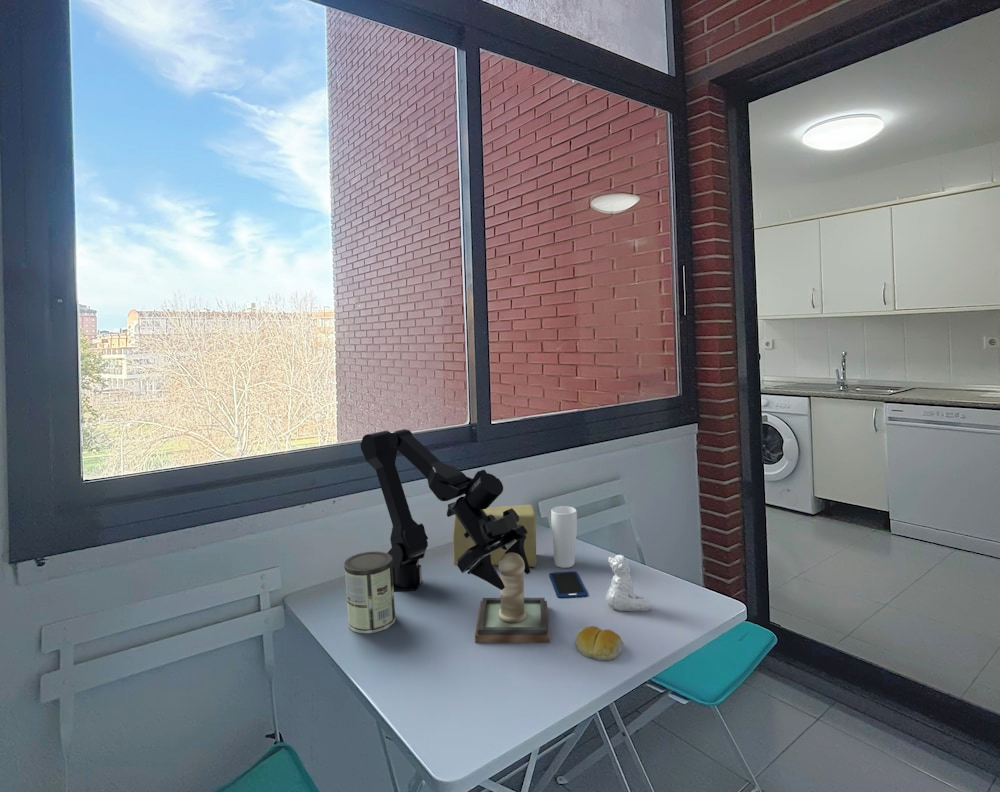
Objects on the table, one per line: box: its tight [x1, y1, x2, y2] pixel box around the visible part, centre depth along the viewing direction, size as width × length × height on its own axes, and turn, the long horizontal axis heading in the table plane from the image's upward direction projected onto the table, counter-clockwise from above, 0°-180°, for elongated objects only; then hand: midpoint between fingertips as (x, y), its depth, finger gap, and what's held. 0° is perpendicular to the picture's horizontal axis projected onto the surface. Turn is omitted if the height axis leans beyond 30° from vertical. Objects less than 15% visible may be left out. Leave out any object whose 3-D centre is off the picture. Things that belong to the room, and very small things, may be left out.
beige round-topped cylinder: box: [498, 552, 527, 623], centre depth 127 cm, size 6×6×14 cm
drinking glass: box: [550, 505, 578, 569], centre depth 157 cm, size 7×7×15 cm
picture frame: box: [474, 597, 550, 644], centre depth 127 cm, size 15×15×2 cm
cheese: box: [452, 504, 537, 568], centre depth 159 cm, size 22×10×15 cm, turn 92°
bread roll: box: [575, 625, 624, 661], centre depth 117 cm, size 8×9×4 cm
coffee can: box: [343, 551, 396, 634], centre depth 129 cm, size 10×10×14 cm
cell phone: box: [548, 570, 589, 599], centre depth 146 cm, size 7×14×1 cm, turn 4°
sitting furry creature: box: [605, 554, 651, 612], centre depth 134 cm, size 10×9×12 cm
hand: (516, 580), depth 126 cm, fingers open, 9 cm apart
